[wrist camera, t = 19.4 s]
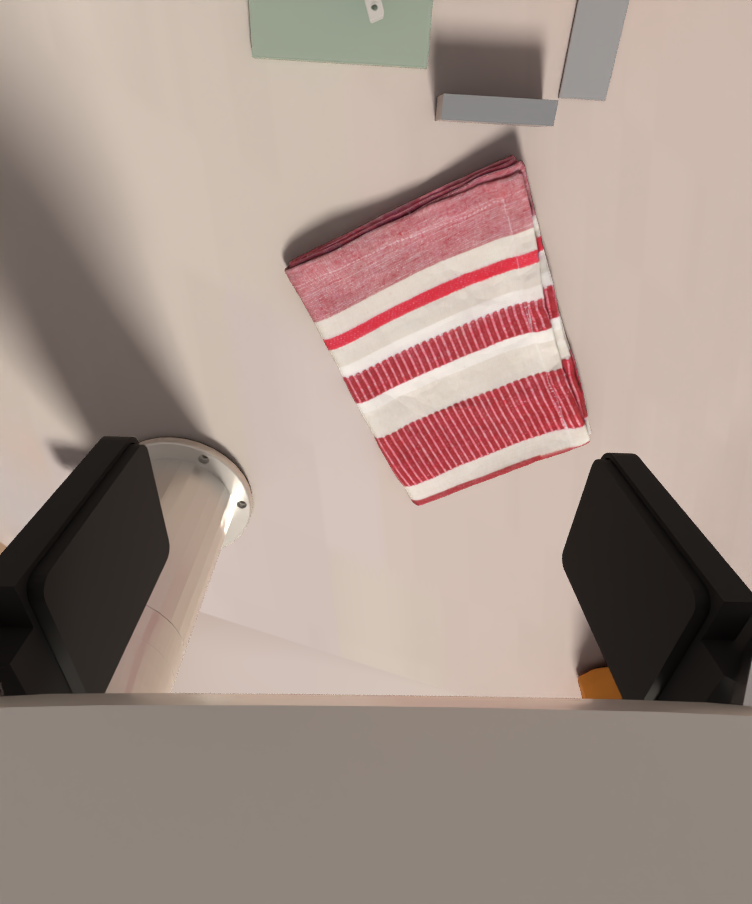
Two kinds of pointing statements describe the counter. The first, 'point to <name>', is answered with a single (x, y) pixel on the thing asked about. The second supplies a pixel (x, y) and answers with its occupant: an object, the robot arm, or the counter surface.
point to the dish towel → (450, 333)
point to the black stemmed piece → (372, 14)
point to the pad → (342, 32)
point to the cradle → (581, 77)
